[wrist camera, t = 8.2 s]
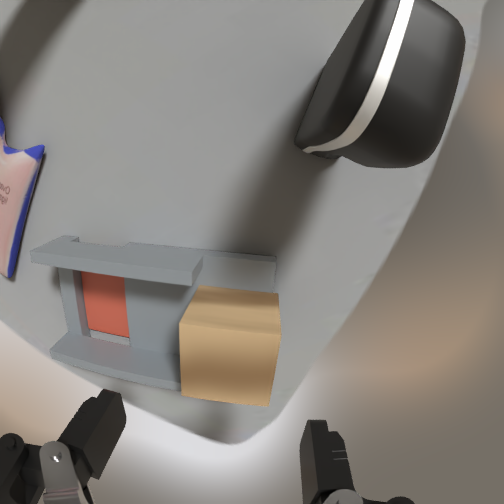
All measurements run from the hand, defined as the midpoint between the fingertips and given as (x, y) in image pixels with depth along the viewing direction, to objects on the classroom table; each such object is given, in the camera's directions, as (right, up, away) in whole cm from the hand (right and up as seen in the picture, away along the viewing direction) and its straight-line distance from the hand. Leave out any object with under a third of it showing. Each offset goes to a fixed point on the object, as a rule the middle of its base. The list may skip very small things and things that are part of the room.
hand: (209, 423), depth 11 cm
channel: (-5, +3, +10) cm, 12 cm away
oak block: (+1, +2, +9) cm, 9 cm away
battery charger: (+7, +16, +6) cm, 18 cm away
